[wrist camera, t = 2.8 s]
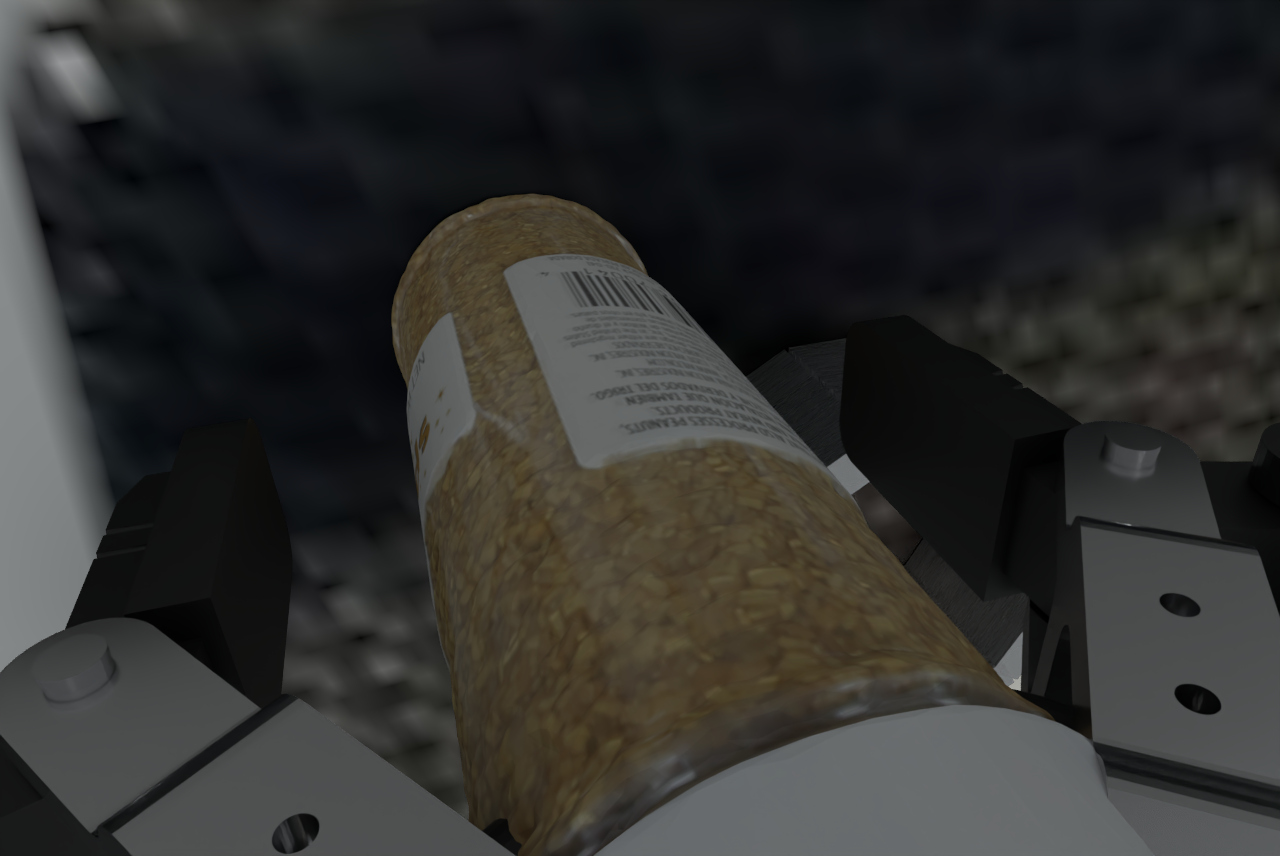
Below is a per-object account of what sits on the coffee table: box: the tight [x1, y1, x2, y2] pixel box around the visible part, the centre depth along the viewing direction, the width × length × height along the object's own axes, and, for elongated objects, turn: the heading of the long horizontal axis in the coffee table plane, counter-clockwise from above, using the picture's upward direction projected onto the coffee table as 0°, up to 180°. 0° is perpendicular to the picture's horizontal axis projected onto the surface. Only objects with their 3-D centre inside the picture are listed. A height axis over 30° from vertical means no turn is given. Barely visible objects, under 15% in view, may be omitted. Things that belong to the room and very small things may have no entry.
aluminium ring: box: [746, 338, 1028, 686], centre depth 18 cm, size 8×8×4 cm
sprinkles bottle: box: [391, 194, 1154, 856], centre depth 10 cm, size 5×5×13 cm
